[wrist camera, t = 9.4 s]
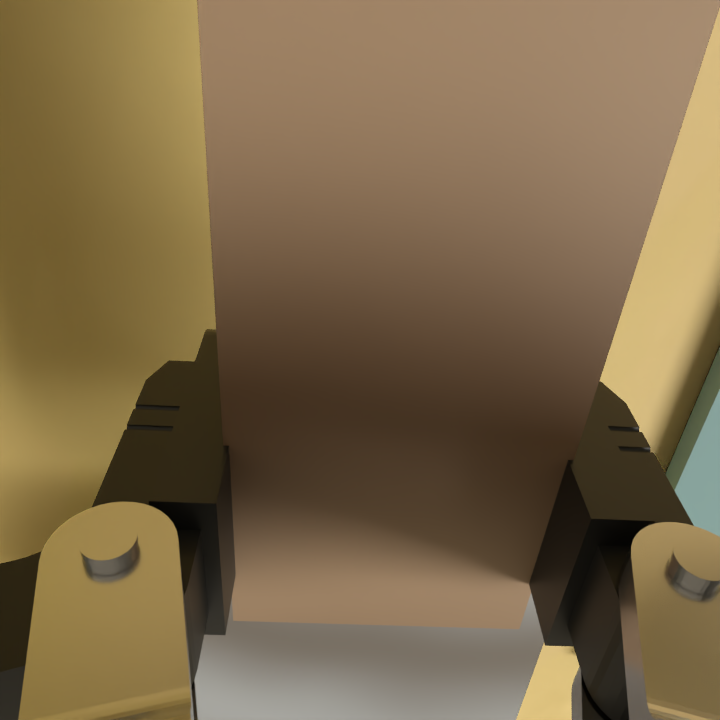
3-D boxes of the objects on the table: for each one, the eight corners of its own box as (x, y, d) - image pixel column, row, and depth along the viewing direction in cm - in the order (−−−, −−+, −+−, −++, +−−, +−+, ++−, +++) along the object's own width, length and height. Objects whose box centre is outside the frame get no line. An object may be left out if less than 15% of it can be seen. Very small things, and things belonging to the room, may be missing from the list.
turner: (88, -86, 8) (-89, -80, 5) (735, -36, 9) (979, 2, 5) (187, 676, 17) (147, 863, 14) (502, 684, 17) (538, 868, 14)
